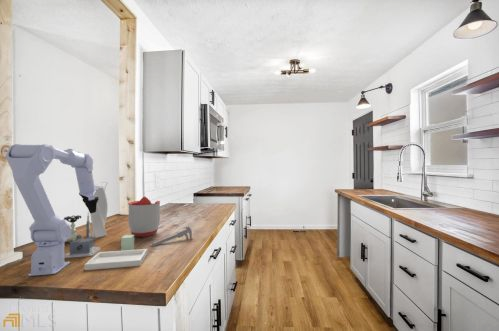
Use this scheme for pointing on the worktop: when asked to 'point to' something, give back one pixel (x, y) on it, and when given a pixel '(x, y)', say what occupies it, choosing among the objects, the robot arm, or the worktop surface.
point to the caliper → (174, 236)
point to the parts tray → (116, 259)
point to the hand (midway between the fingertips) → (91, 209)
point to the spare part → (127, 242)
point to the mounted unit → (82, 248)
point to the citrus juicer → (144, 217)
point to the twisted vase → (98, 214)
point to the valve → (73, 234)
